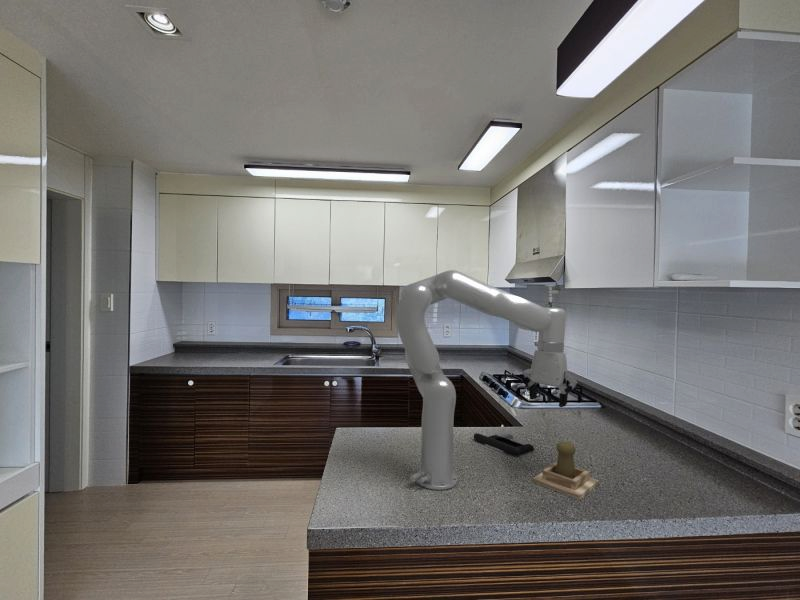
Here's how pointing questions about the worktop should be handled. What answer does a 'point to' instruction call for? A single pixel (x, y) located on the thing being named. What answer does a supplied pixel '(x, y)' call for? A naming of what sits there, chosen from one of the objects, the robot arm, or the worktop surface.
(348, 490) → the worktop surface
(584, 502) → the worktop surface
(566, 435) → the worktop surface
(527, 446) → the door handle
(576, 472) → the holder
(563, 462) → the olive tall rounded piece
